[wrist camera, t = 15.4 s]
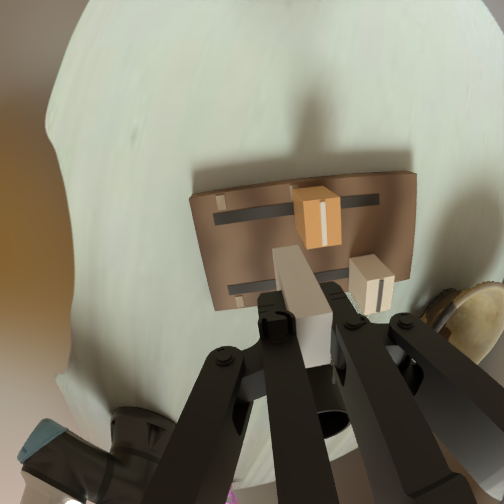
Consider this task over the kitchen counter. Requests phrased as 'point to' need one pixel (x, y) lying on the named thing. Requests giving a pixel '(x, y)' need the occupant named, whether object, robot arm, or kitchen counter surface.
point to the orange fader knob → (317, 216)
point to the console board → (285, 234)
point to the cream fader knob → (370, 284)
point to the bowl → (469, 318)
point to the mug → (328, 400)
